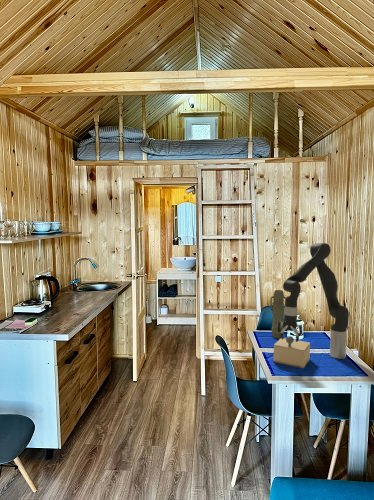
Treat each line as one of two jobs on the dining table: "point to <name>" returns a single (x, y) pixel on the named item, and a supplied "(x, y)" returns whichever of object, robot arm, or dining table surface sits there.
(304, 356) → the carton
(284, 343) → the carton flap
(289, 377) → the dining table surface
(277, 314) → the thermos
